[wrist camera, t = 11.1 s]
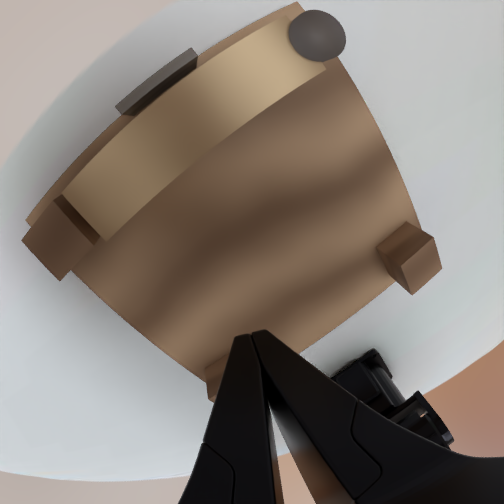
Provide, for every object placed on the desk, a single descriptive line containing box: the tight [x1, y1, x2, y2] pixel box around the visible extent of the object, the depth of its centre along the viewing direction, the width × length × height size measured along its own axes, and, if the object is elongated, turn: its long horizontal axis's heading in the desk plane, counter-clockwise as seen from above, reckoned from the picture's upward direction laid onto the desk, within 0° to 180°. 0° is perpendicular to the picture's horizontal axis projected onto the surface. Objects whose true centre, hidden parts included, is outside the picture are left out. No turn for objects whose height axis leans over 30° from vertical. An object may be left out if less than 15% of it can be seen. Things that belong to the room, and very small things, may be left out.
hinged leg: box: [62, 10, 346, 242], centre depth 12 cm, size 14×3×4 cm, turn 127°
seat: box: [21, 2, 442, 403], centre depth 17 cm, size 20×20×4 cm
